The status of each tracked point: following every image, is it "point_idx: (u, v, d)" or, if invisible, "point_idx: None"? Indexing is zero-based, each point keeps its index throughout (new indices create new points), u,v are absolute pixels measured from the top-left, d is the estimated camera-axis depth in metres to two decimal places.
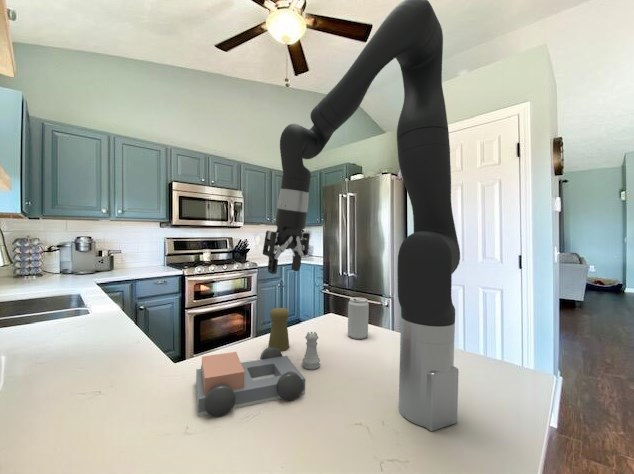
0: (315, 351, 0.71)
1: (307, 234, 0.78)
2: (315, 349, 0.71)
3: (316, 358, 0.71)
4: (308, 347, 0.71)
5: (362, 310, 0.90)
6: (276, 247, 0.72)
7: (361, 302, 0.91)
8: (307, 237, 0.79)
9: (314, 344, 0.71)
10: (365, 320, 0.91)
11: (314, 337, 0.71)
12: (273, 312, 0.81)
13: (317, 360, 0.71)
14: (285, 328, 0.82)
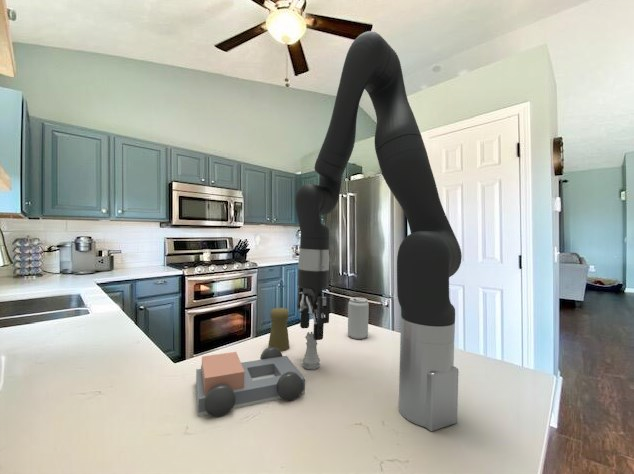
0: (315, 351, 0.71)
1: None
2: (315, 349, 0.71)
3: (316, 358, 0.71)
4: (308, 347, 0.71)
5: (362, 310, 0.90)
6: None
7: (361, 302, 0.91)
8: None
9: (314, 344, 0.71)
10: (365, 320, 0.91)
11: None
12: (273, 312, 0.81)
13: (317, 360, 0.71)
14: (285, 328, 0.82)
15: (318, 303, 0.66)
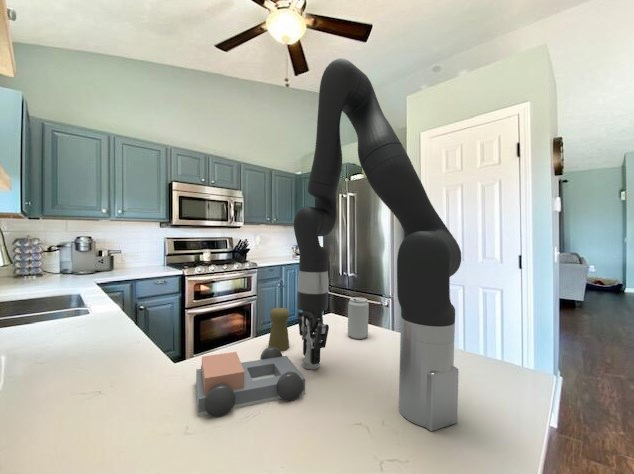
0: None
1: None
2: None
3: None
4: (308, 347, 0.71)
5: (362, 310, 0.90)
6: None
7: (361, 302, 0.91)
8: None
9: None
10: (365, 320, 0.91)
11: None
12: (273, 312, 0.81)
13: None
14: (285, 328, 0.82)
15: (317, 331, 0.66)
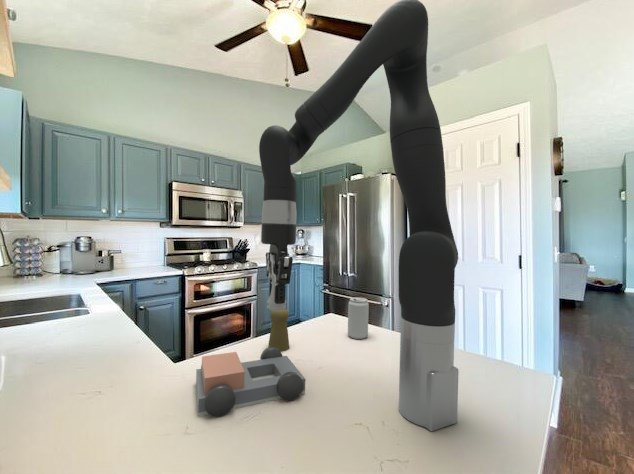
0: None
1: None
2: None
3: None
4: (273, 286, 0.63)
5: (362, 310, 0.90)
6: None
7: (361, 302, 0.91)
8: None
9: None
10: (365, 320, 0.91)
11: None
12: (273, 312, 0.81)
13: None
14: (285, 328, 0.82)
15: (279, 263, 0.58)
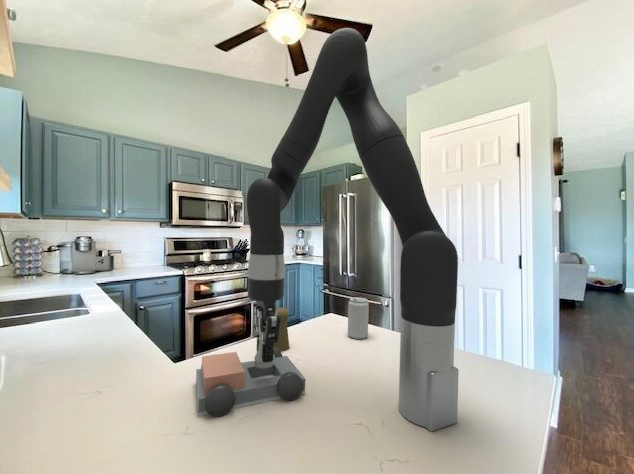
0: None
1: None
2: None
3: None
4: (260, 343, 0.61)
5: (362, 310, 0.90)
6: None
7: (361, 302, 0.91)
8: None
9: None
10: (365, 320, 0.91)
11: None
12: None
13: None
14: (285, 328, 0.82)
15: (266, 323, 0.56)
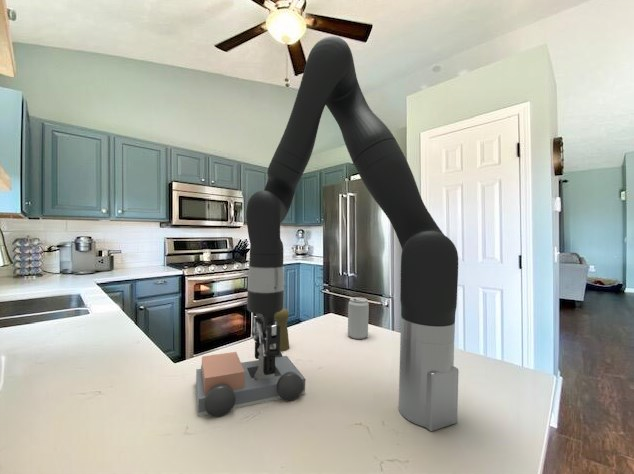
0: None
1: None
2: None
3: None
4: (260, 361, 0.61)
5: (362, 310, 0.90)
6: None
7: (361, 302, 0.91)
8: None
9: None
10: (365, 320, 0.91)
11: None
12: None
13: (270, 376, 0.61)
14: (285, 328, 0.82)
15: (266, 333, 0.56)
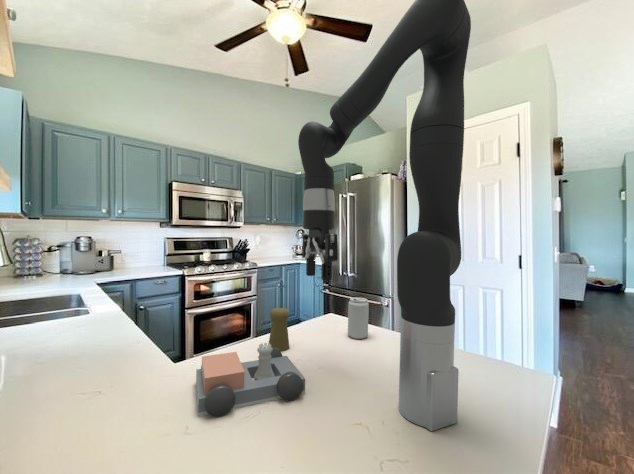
0: (268, 366, 0.61)
1: None
2: (268, 363, 0.61)
3: (269, 374, 0.61)
4: (260, 361, 0.61)
5: (362, 310, 0.90)
6: None
7: (361, 302, 0.91)
8: None
9: (267, 358, 0.61)
10: (365, 320, 0.91)
11: (267, 350, 0.61)
12: (273, 312, 0.81)
13: (270, 376, 0.61)
14: (285, 328, 0.82)
15: (326, 240, 0.64)
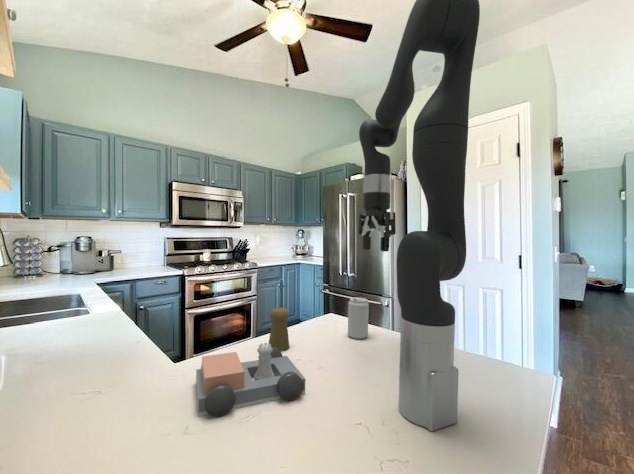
0: (268, 366, 0.61)
1: None
2: (268, 363, 0.61)
3: (269, 374, 0.61)
4: (260, 361, 0.61)
5: (362, 310, 0.90)
6: (384, 227, 0.79)
7: (361, 302, 0.91)
8: None
9: (267, 358, 0.61)
10: (365, 320, 0.91)
11: (267, 350, 0.61)
12: (273, 312, 0.81)
13: (270, 376, 0.61)
14: (285, 328, 0.82)
15: (386, 217, 0.76)
